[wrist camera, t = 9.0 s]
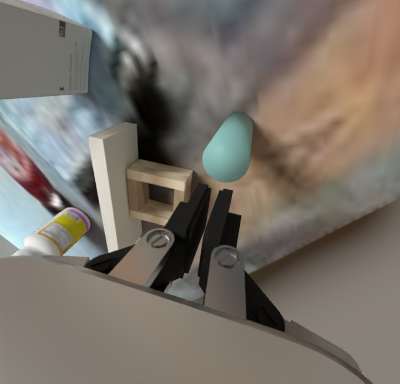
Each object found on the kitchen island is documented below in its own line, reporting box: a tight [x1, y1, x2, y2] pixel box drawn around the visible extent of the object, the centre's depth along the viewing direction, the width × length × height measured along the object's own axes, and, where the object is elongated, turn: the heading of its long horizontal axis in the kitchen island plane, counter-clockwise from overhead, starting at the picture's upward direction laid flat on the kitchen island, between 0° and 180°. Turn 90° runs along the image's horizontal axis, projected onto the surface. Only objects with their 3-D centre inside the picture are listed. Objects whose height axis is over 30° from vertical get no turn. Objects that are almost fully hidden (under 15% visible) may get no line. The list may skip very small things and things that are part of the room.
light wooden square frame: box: [126, 159, 193, 226], centre depth 34 cm, size 9×9×4 cm
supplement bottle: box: [12, 208, 91, 257], centre depth 40 cm, size 7×7×13 cm
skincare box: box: [0, 0, 92, 99], centre depth 22 cm, size 8×6×15 cm
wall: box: [88, 122, 142, 253], centre depth 34 cm, size 2×22×8 cm, turn 174°
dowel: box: [203, 112, 254, 182], centre depth 23 cm, size 4×4×12 cm
